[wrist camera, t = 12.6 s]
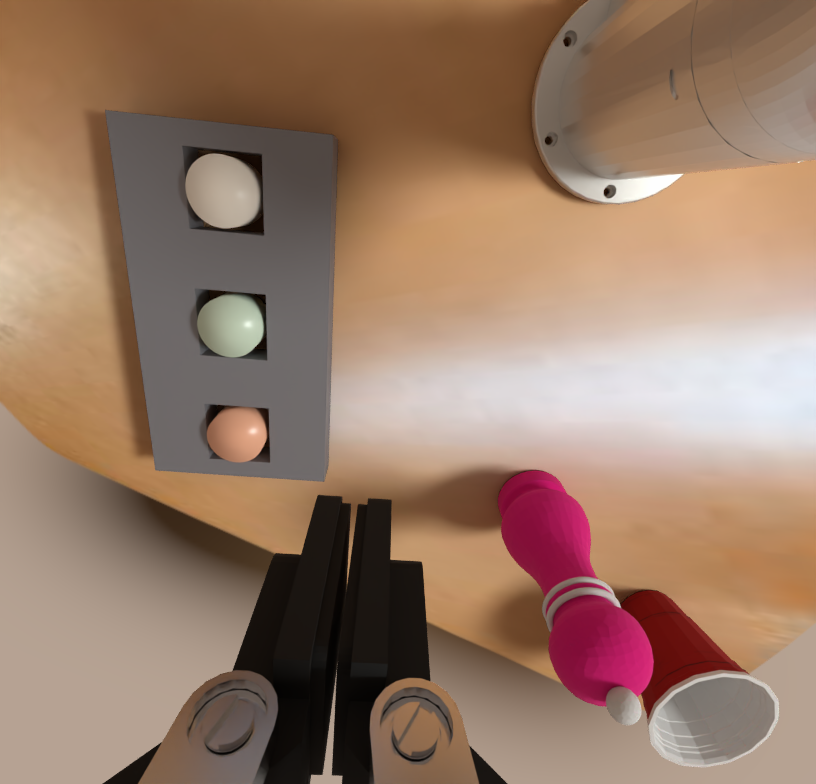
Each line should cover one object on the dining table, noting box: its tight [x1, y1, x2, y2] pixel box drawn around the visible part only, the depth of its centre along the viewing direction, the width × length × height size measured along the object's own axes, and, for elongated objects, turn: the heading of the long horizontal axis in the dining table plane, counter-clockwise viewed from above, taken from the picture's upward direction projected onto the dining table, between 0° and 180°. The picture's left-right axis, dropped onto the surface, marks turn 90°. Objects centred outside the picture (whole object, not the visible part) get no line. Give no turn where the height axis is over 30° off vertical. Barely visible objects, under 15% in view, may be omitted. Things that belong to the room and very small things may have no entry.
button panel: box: [105, 110, 338, 482], centre depth 34 cm, size 26×14×2 cm, turn 175°
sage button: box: [197, 291, 267, 357], centre depth 34 cm, size 4×4×3 cm
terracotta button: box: [207, 405, 269, 462], centre depth 37 cm, size 4×4×3 cm
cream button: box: [185, 154, 264, 228], centre depth 31 cm, size 4×4×3 cm
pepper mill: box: [498, 471, 654, 725], centre depth 34 cm, size 7×7×20 cm
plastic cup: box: [620, 590, 779, 767], centre depth 43 cm, size 11×11×12 cm
